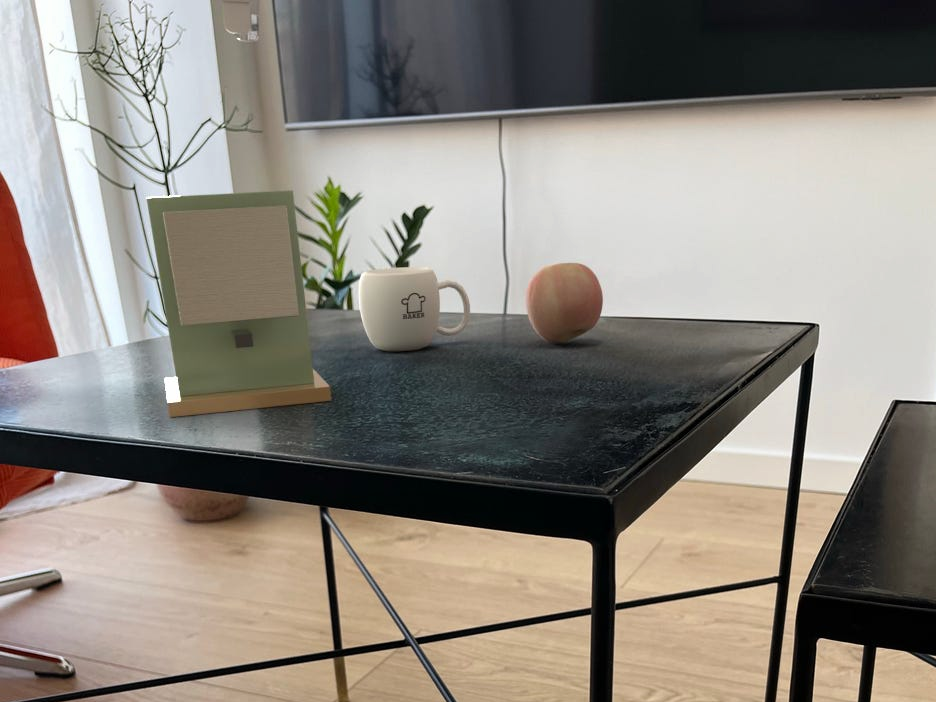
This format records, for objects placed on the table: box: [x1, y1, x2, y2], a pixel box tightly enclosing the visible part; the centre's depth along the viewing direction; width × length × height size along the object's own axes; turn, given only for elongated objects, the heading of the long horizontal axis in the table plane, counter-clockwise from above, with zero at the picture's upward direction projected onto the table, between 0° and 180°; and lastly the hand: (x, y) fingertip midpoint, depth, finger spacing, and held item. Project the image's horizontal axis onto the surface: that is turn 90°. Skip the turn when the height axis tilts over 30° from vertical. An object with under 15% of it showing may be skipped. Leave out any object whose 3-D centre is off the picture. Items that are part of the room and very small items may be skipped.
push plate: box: [163, 205, 299, 325], centre depth 77 cm, size 1×9×8 cm, turn 107°
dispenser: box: [145, 189, 332, 418], centre depth 84 cm, size 13×13×16 cm
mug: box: [358, 266, 471, 352], centre depth 107 cm, size 12×8×8 cm
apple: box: [525, 262, 604, 345], centre depth 105 cm, size 8×8×8 cm
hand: (243, 37), depth 74 cm, fingers open, 8 cm apart
